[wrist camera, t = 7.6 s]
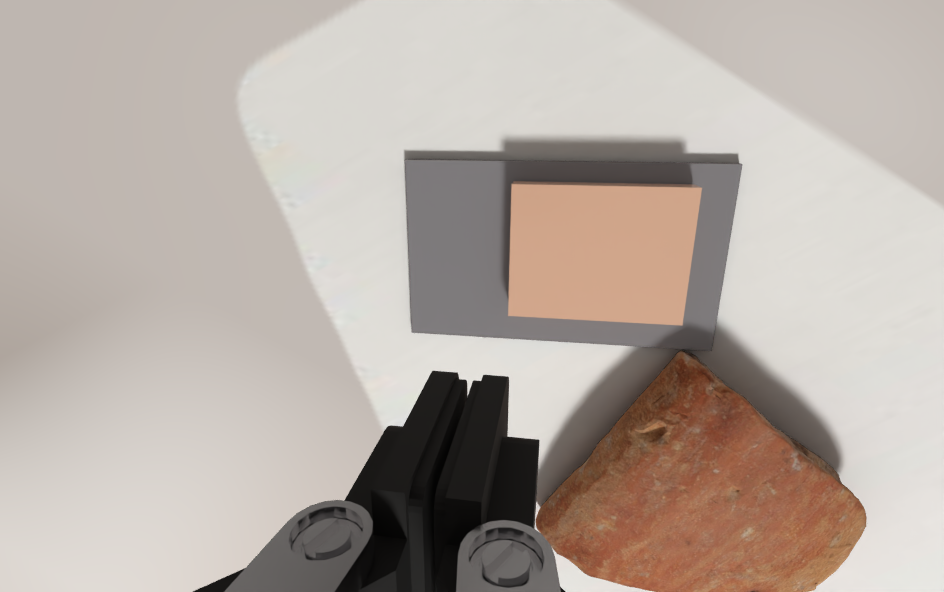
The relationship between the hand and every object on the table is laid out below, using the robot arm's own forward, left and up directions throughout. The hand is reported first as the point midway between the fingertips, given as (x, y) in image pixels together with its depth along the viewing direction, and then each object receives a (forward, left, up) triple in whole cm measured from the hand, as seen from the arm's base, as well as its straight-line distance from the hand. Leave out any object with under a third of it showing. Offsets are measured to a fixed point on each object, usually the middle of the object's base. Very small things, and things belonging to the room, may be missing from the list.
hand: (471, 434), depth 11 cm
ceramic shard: (-11, +15, -19) cm, 27 cm away
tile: (+1, 0, -17) cm, 17 cm away
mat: (-2, 0, -18) cm, 19 cm away
